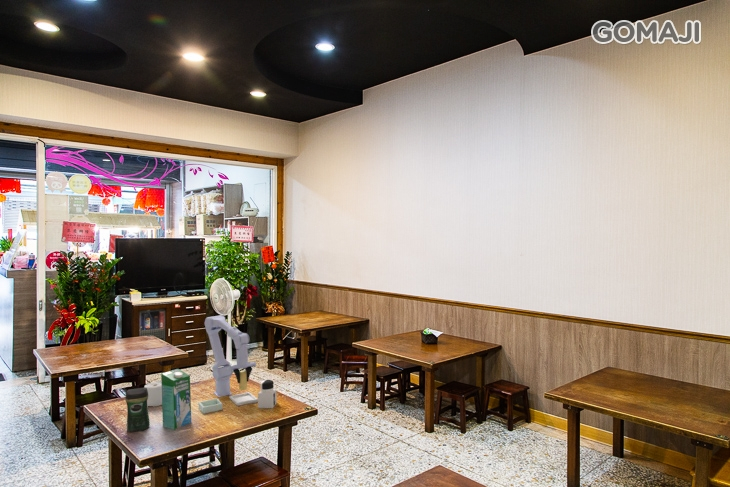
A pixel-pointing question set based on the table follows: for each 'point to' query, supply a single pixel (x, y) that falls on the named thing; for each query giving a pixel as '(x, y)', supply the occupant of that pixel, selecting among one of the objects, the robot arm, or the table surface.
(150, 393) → the toilet tissue
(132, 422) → the coffee jar
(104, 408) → the table surface
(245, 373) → the peg
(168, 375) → the milk carton
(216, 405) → the square storage bin
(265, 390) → the container
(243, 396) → the tray
